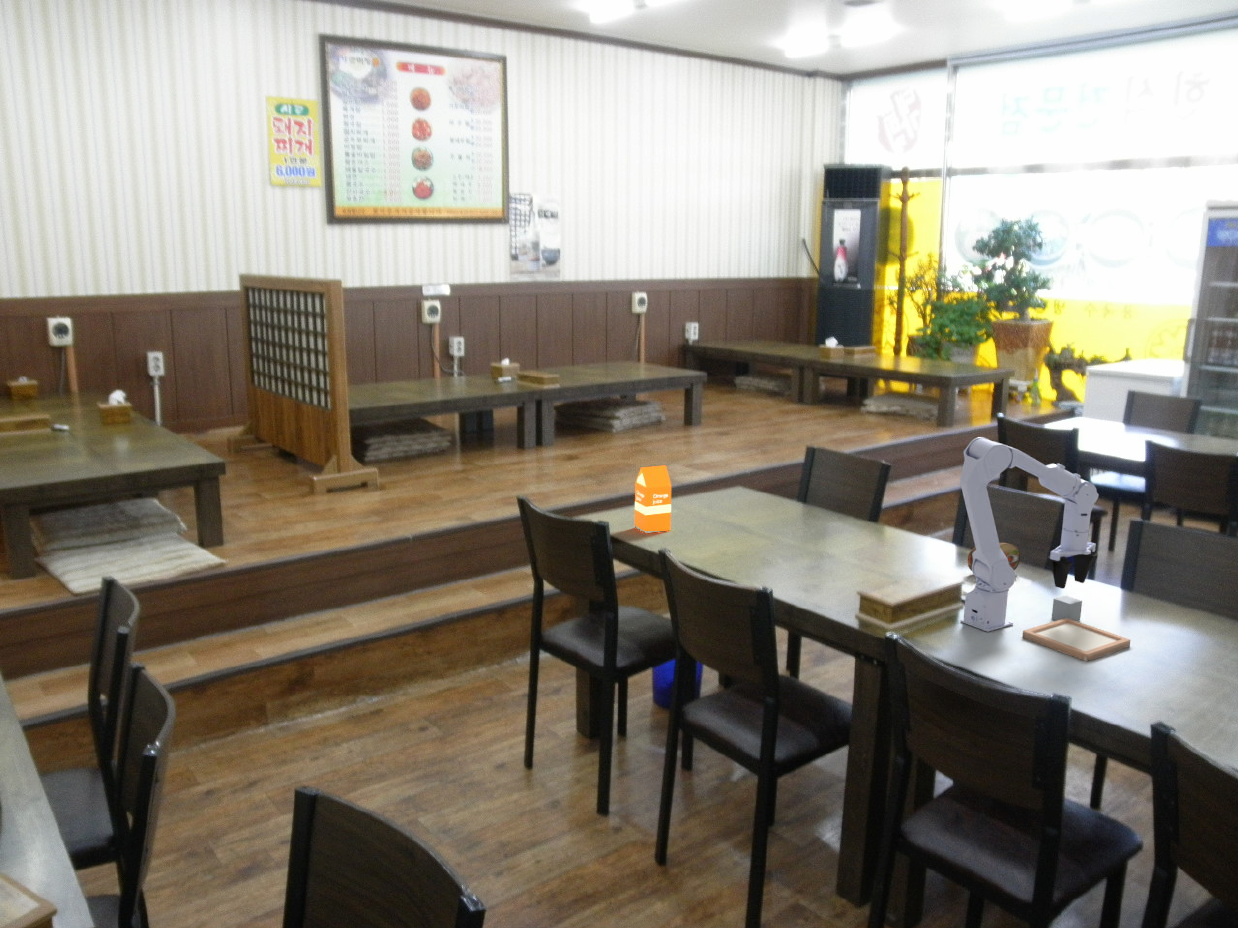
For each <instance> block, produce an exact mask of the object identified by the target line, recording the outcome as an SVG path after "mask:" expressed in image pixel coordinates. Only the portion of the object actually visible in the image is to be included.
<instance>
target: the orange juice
mask: <svg viewBox="0 0 1238 928" xmlns="http://www.w3.org/2000/svg"><path fill="white" fill-rule="evenodd" d="M634 483H635V484H634V487H635V488H634V526H635V525H636V526H637V527H639V528H640V529H642V530H644V531H667V532H671V531H670V530H672V529H671V528H672V527H671V526H672V522H671V521H672V482H671V479H670V475H669V471H668V469H667V465H657V466H656V465H655V466H644V467H640V470H639V473H638V475H637V477H636V480H635V482H634ZM668 530H669V531H668Z"/></svg>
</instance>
